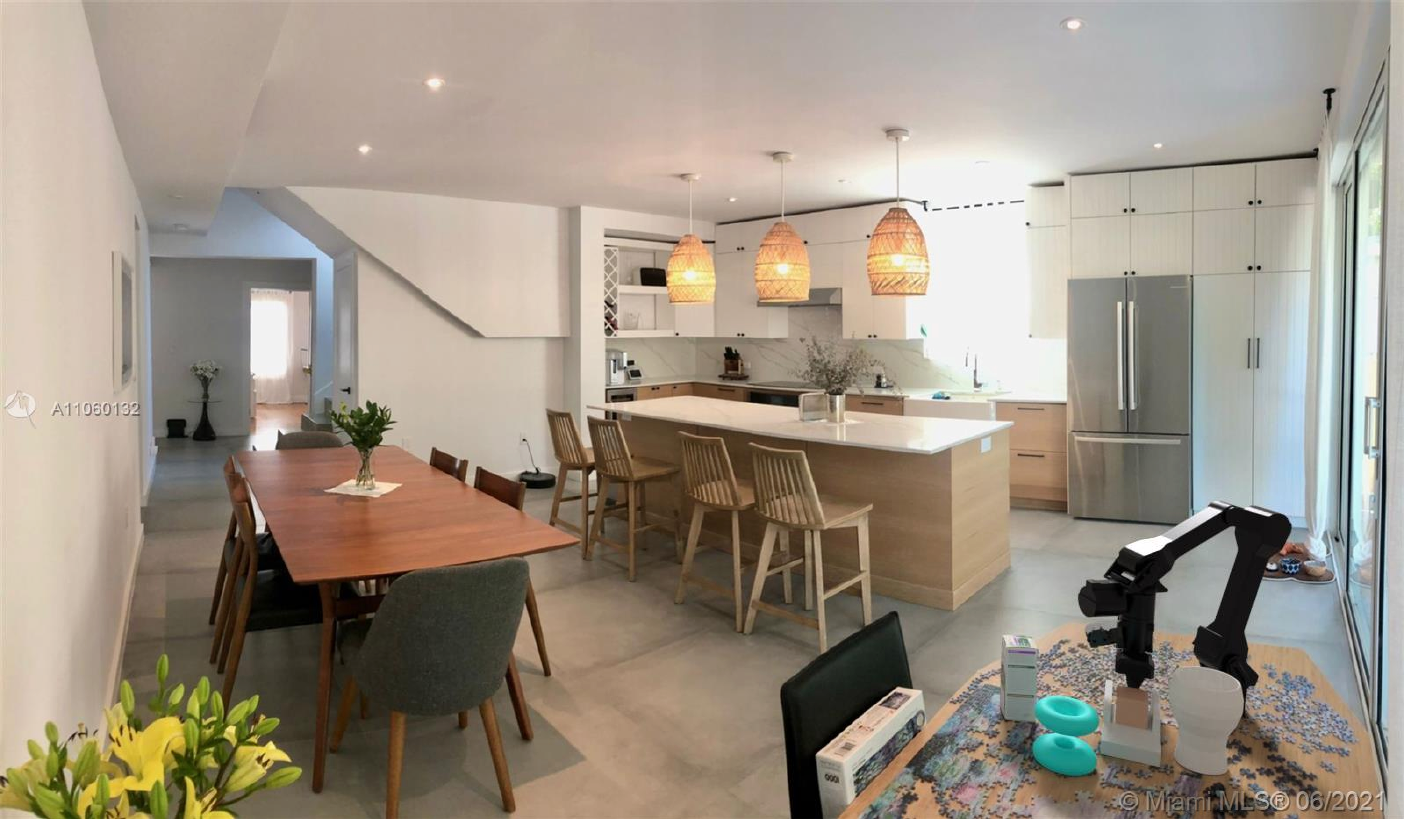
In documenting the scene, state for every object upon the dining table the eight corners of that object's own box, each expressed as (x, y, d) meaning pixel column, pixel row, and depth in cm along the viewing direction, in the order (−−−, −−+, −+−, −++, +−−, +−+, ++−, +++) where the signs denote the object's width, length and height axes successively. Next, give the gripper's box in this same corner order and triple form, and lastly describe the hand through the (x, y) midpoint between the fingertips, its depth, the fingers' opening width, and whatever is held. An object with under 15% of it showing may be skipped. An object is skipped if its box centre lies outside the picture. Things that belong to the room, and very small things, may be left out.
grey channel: (1157, 714, 154) (1159, 689, 153) (1159, 767, 136) (1161, 739, 136) (1104, 703, 158) (1105, 679, 157) (1100, 753, 140) (1101, 726, 140)
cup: (1238, 788, 130) (1246, 699, 128) (1162, 768, 136) (1168, 683, 134) (1237, 757, 139) (1244, 673, 137) (1165, 739, 145) (1171, 659, 143)
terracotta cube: (1146, 717, 148) (1148, 691, 147) (1146, 729, 143) (1148, 702, 143) (1115, 710, 150) (1117, 685, 149) (1115, 723, 146) (1116, 696, 145)
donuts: (1066, 726, 130) (1021, 698, 139) (1063, 784, 131) (1019, 753, 141) (1113, 715, 134) (1067, 688, 143) (1110, 772, 135) (1064, 742, 144)
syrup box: (1036, 723, 151) (1040, 648, 149) (1002, 720, 152) (1006, 645, 150) (1030, 708, 156) (1034, 636, 154) (998, 705, 157) (1001, 633, 156)
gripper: (1091, 591, 163) (1087, 665, 165) (1086, 623, 147) (1081, 705, 149) (1154, 600, 158) (1149, 677, 160) (1157, 635, 142) (1151, 719, 144)
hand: (1131, 693), depth 153 cm, fingers closed
